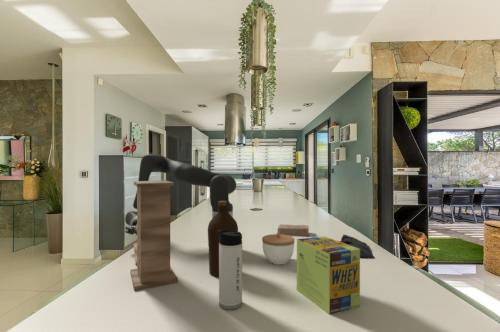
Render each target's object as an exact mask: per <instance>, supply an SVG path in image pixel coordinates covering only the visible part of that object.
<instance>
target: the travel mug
mask: <svg viewBox="0 0 500 332" xmlns="http://www.w3.org/2000/svg"><path fill="white" fill-rule="evenodd" d="M218 234H220V237H219V277H218V298H219V299H218V306H219V307H220V308H222V309H223V310H228V311H233V310H236V309H239V308H241V307H242V305H243V234H242V232H241V231H239V230H238V231H234V230H218Z"/></svg>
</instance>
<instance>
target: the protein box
mask: <svg viewBox="0 0 500 332" xmlns="http://www.w3.org/2000/svg"><path fill="white" fill-rule="evenodd" d="M339 241H340V240H336V239H333V238H331V237H328V236H314V237H305V238H303V237H302V238H297V239H296V291H298V292H299V293H300V294H302V295H303V296H304V297H305V298H307V299H308V300H310V301H311V302H312V303H314V304H315V305H317V306H318V307H319V308H320V309H321V310H323V311H325V313H327V314H328V315H332V314H336V313H339V312H344V311H347V310H352V309H354V308H355V309H356V308H359V307H361V291H360V290H361V257H360V249H359V248H356V247H353V246H350V245H347V244H345V243H342V242H339Z"/></svg>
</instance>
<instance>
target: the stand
mask: <svg viewBox="0 0 500 332" xmlns="http://www.w3.org/2000/svg"><path fill="white" fill-rule="evenodd" d="M133 185H135V186H136V192H137V209H136V212H137V235H136V243H137V266H136V268H133V269H130V278H131V282H132V286H133V291H134V292H135V291H139V290H140V291H141V290H145V289H151V288H156V287H160V286H166V285H170V284H175V283H179V279H178V276H177V275H176V273H175V272H174V270H173V268H172V267H171V187H173V186H175V182H173V181H170V180H149V181H138V180H135V181H133Z"/></svg>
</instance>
